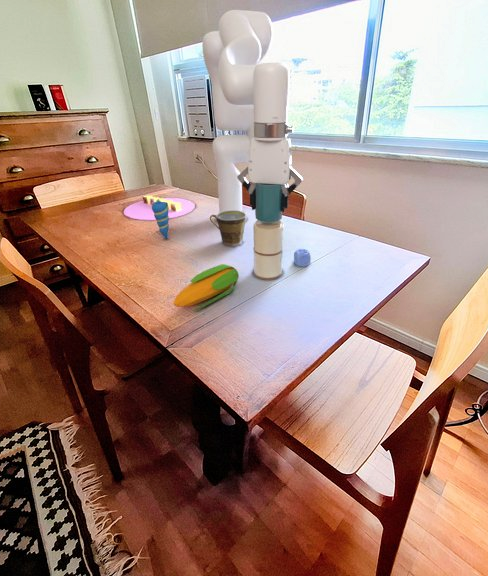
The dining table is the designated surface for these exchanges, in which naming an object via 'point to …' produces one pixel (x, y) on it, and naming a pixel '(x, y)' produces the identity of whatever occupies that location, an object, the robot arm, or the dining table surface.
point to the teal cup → (268, 202)
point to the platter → (146, 213)
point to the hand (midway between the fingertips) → (268, 208)
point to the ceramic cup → (231, 226)
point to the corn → (208, 286)
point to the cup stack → (268, 249)
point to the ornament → (161, 217)
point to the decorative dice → (302, 257)
